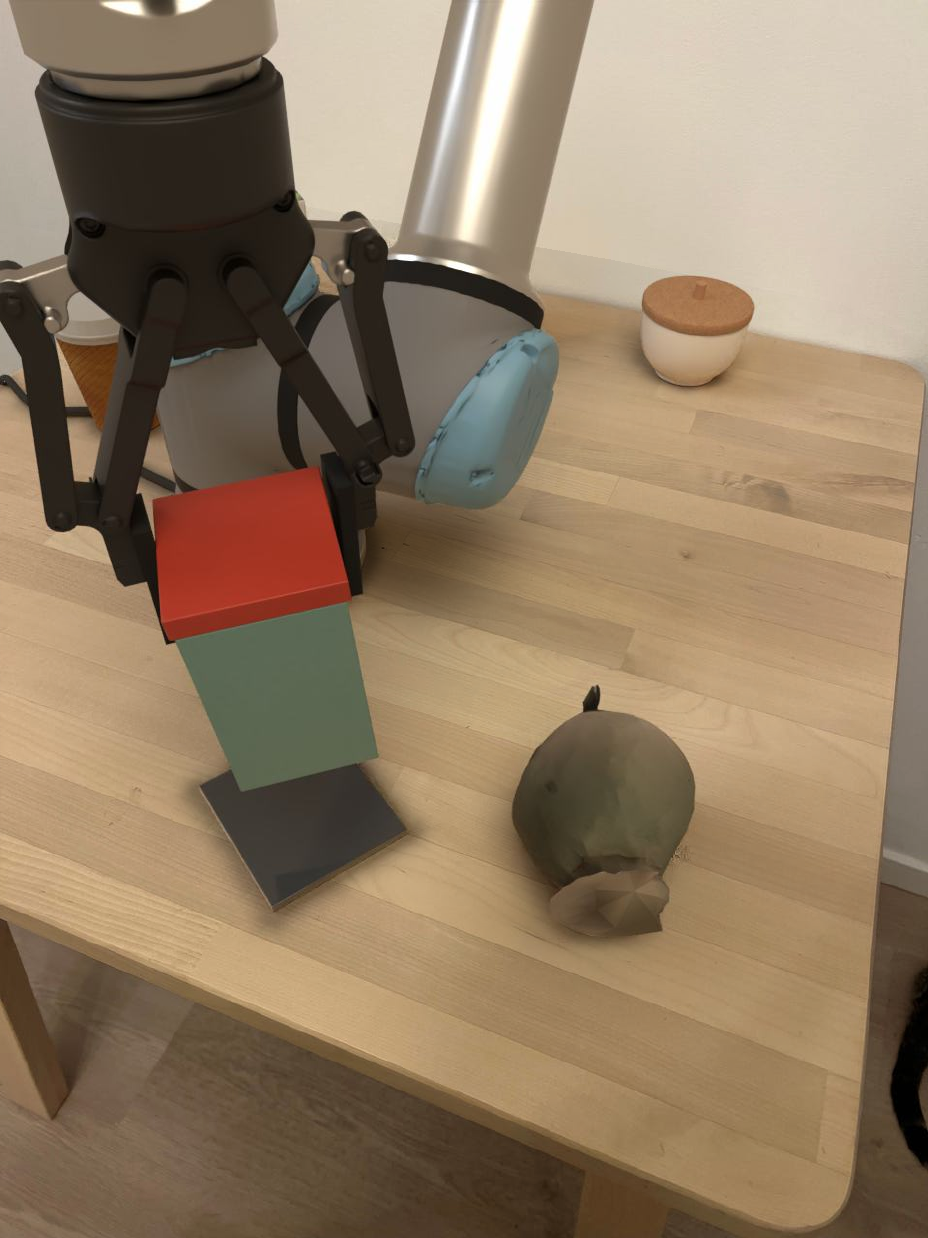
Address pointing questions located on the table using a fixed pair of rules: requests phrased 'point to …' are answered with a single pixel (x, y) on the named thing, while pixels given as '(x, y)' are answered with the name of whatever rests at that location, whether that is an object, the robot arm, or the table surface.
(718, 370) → the trinket box
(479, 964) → the table surface
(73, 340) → the disposable coffee cup
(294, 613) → the container
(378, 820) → the slate tile
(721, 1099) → the table surface
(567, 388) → the table surface
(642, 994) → the table surface
